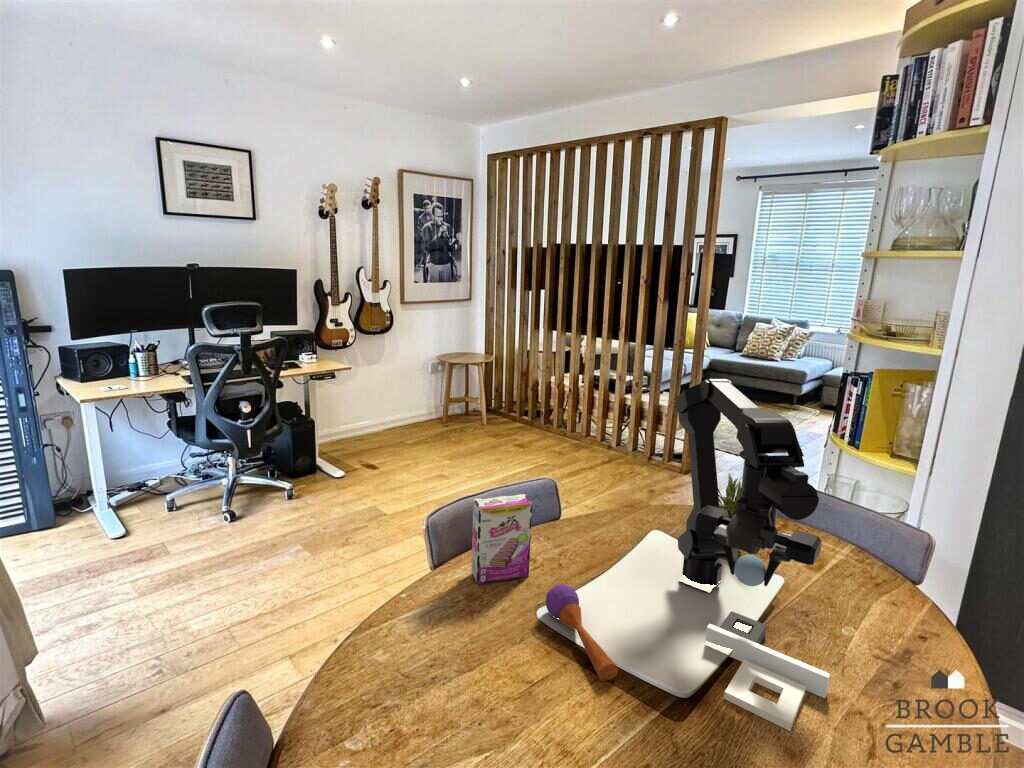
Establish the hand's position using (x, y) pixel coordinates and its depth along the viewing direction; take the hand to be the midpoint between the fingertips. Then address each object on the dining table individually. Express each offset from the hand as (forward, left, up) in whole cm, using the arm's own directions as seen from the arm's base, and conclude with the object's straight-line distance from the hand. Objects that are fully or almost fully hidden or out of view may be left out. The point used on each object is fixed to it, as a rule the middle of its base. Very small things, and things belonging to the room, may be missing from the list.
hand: (749, 579), depth 93 cm
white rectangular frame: (+7, -12, -11) cm, 18 cm away
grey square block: (0, 0, -11) cm, 11 cm away
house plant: (-14, +32, -11) cm, 37 cm away
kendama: (-21, -19, -11) cm, 31 cm away
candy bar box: (-44, -13, -11) cm, 47 cm away
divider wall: (+5, -6, -11) cm, 13 cm away
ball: (0, 0, +2) cm, 2 cm away
